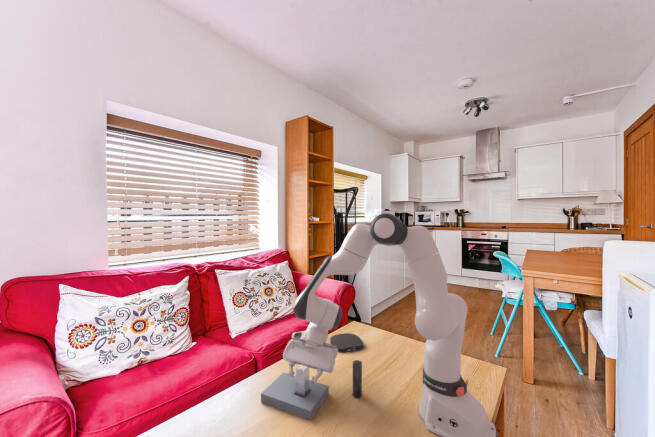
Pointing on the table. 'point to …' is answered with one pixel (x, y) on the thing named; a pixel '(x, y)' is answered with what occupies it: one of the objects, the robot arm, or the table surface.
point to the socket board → (294, 396)
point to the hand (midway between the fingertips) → (301, 379)
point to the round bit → (357, 379)
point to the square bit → (302, 380)
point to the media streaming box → (346, 342)
